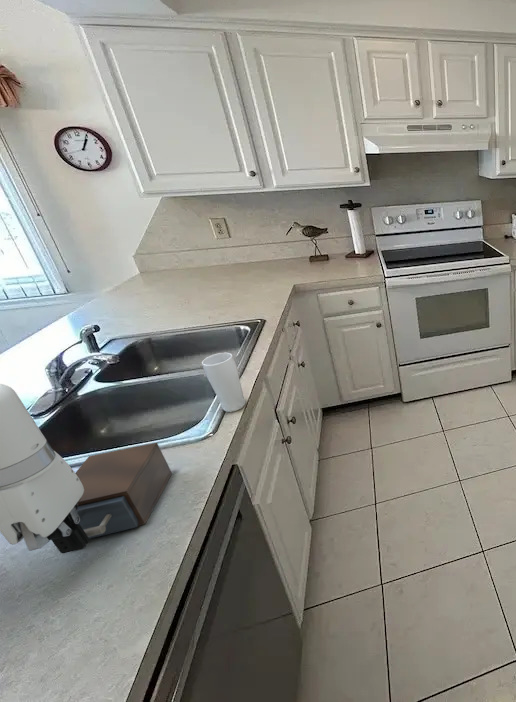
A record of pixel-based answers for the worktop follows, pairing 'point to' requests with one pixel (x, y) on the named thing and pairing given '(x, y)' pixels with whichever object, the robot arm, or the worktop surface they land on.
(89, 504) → the drawer
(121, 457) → the cabinet
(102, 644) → the worktop surface
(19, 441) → the robot arm
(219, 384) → the drinking glass
